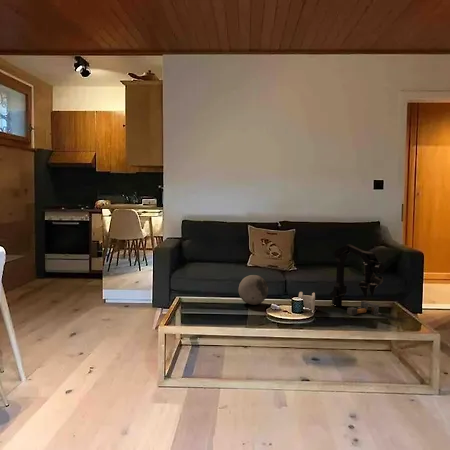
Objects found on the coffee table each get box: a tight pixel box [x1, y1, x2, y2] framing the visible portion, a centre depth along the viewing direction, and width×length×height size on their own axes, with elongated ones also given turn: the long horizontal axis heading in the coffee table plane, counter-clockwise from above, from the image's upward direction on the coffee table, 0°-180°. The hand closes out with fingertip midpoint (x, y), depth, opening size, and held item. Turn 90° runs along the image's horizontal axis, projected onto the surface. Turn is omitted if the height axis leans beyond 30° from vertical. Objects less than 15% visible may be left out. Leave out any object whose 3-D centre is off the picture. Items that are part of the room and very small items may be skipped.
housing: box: [357, 300, 382, 317], centre depth 354 cm, size 18×4×6 cm, turn 30°
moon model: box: [238, 274, 269, 306], centre depth 357 cm, size 20×20×20 cm
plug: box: [346, 306, 368, 316], centre depth 349 cm, size 14×4×4 cm, turn 120°
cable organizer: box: [297, 291, 316, 312], centre depth 347 cm, size 15×11×12 cm
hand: (369, 296), depth 341 cm, fingers open, 9 cm apart
